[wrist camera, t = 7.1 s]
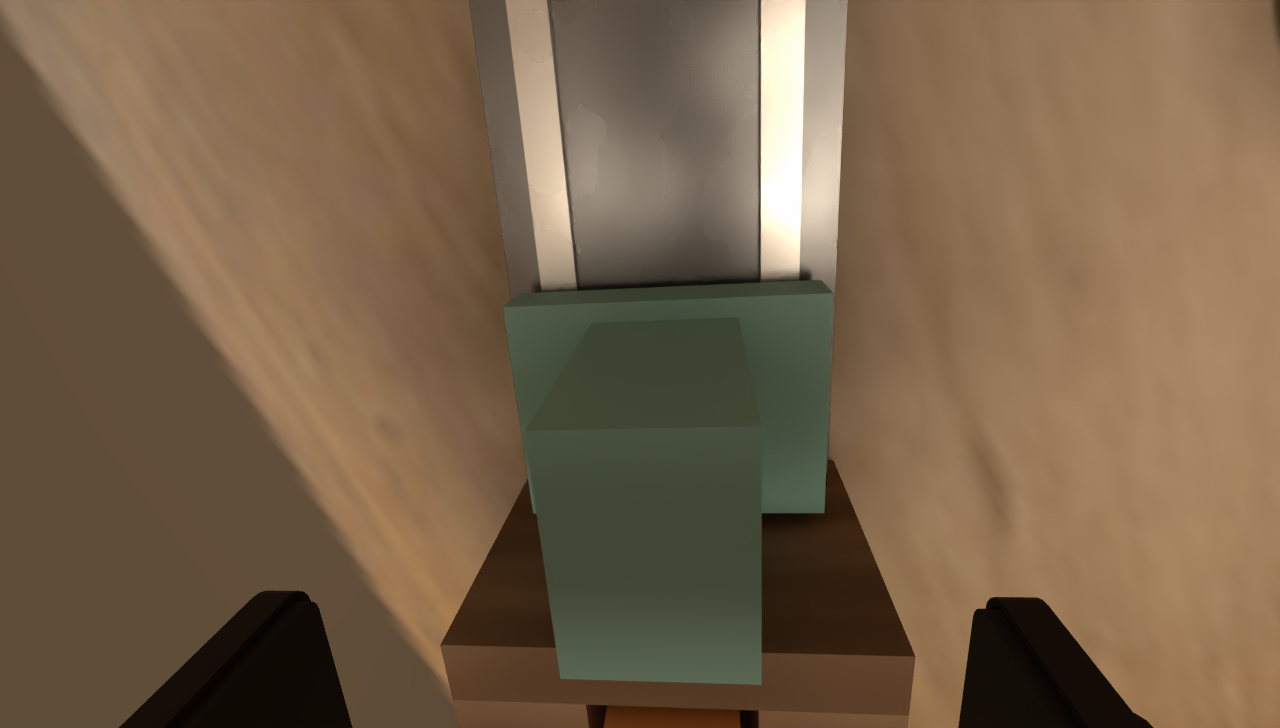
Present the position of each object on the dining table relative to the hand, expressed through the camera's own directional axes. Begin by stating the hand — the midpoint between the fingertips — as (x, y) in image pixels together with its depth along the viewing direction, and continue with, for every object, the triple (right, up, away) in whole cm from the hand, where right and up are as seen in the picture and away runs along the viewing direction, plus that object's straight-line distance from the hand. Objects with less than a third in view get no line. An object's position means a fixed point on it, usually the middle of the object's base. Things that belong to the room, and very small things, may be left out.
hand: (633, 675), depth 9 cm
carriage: (+1, +4, +8) cm, 9 cm away
